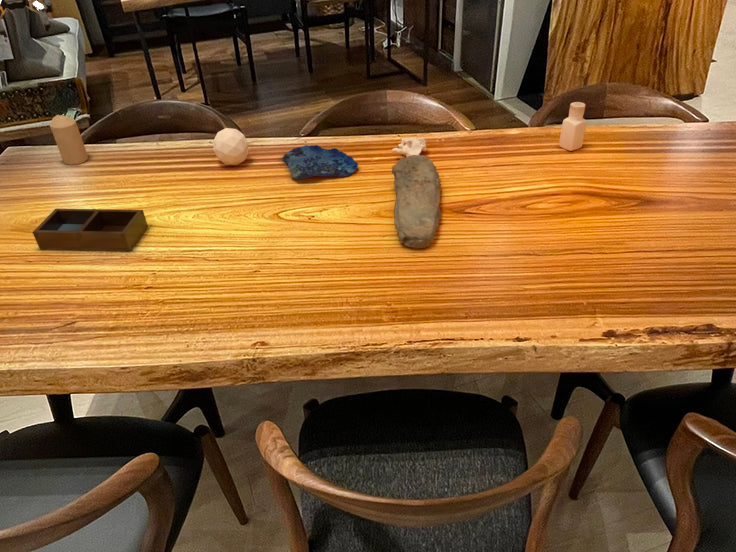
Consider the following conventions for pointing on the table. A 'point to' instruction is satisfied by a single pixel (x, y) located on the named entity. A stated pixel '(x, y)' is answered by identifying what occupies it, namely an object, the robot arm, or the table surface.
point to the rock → (318, 162)
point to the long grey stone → (416, 200)
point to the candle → (68, 140)
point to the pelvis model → (411, 146)
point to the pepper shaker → (573, 127)
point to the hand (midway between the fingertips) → (26, 32)
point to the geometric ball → (230, 146)
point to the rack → (91, 229)
